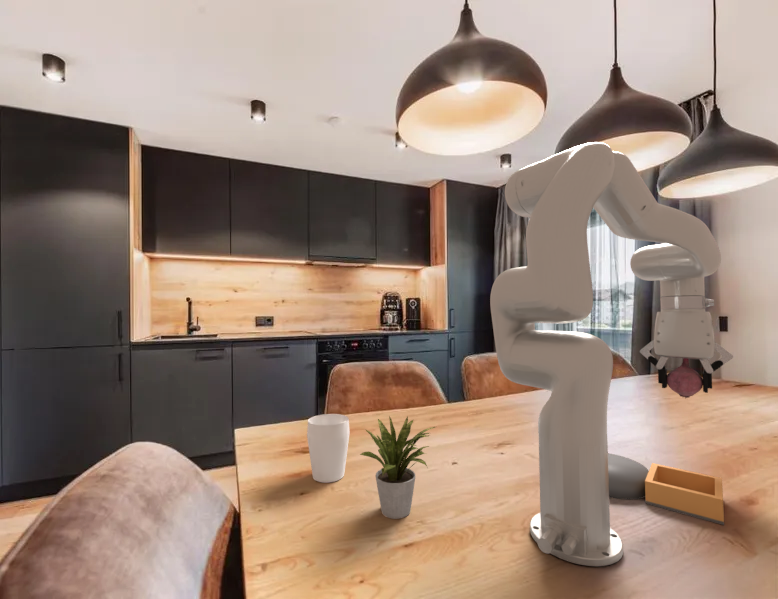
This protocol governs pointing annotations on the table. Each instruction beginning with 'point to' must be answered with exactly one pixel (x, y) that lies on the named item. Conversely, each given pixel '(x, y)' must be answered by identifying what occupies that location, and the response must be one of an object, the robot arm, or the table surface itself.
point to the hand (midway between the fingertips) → (684, 388)
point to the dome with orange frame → (667, 488)
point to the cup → (328, 446)
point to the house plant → (396, 468)
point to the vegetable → (684, 380)
